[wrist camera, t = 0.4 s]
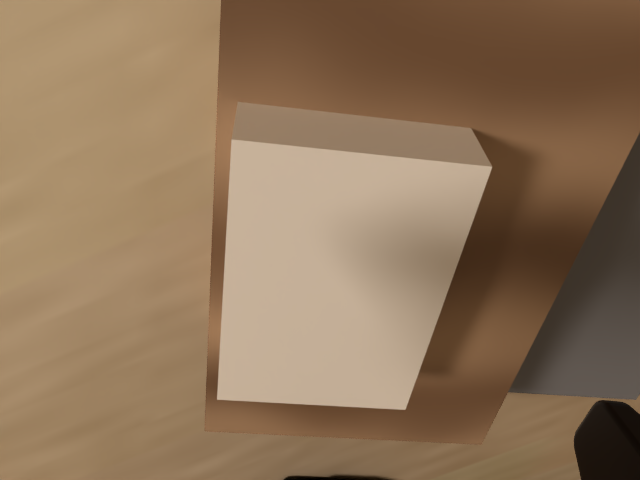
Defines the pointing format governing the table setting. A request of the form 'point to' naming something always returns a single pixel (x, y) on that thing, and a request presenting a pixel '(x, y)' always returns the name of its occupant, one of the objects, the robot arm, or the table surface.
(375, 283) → the tile
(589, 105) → the brown wooden block
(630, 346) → the mat
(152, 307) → the table surface
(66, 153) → the table surface
